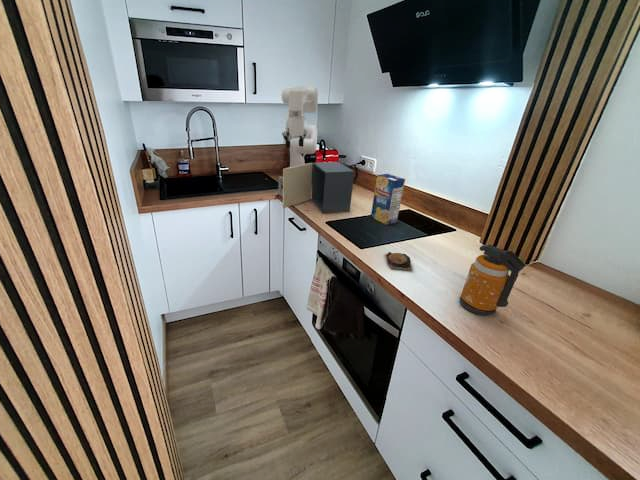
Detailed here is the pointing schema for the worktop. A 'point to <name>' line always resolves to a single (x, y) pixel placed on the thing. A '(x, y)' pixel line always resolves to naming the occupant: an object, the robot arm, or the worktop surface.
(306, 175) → the cupboard door
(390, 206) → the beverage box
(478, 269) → the canister
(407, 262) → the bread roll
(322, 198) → the cupboard
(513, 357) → the worktop surface
